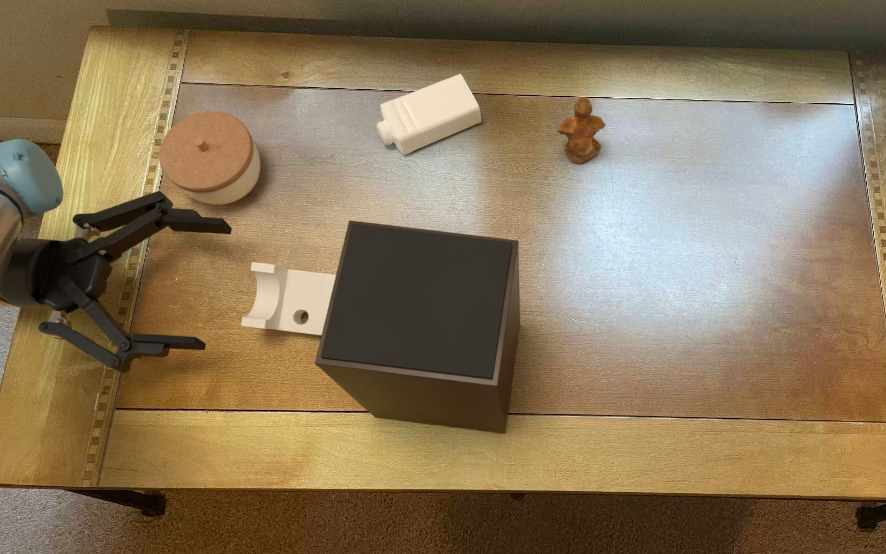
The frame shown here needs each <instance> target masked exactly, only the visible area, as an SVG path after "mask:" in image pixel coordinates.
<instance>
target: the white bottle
mask: <svg viewBox="0 0 886 554" xmlns="http://www.w3.org/2000/svg"><path fill="white" fill-rule="evenodd" d="M380 111H381V115H382V119H383V120H382V121H378V122H377V123H376V130H377V132H378V135H379V136H380V139H381V140H382V143H383V144H384V145H386V146H389V145H392V144H394V145H395V147H396V148H397V150H398V151H399V152H400V153H401V155H408V154H411V153H413V151H417V150H418V149H422V148H423V147H426V146H428V145H430V144H432V143H435V142H437V141H439V140H442V139H444V138H448V137H450V136H452V135H454V134H457V133H459V132H461V131H464V130H466V129H468V128H471V127H473V126H476V125H479V124H481V123H482V114H481V108H480V105H479V103H478V102H477V100H476V98H475V96H474V94H473V93H472V91H471V90H470V88H469V85H468V84H467V82H466V80H465V78H464V77H463V75H462V73H458V74H456V75H454V76H451V77H449V78H445V79H443V80H440V81H437V82H435V83H432V84H429V85H427V86H425V87H422V88H420V89H418V90H417V89H416V90H415V91H413V92H412V91H411V92H410V93H407V94H404V95H401V96H399V97H396V98H394V99H391V100H388V101H385V102H382V103H381V104H380Z"/></svg>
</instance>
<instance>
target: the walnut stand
mask: <svg viewBox="0 0 886 554" xmlns="http://www.w3.org/2000/svg"><path fill="white" fill-rule="evenodd" d="M352 224H360V225H369V226H377V227H385V228H394V229H402V230H411V231H419V232H427V233H436V234H444V235H452V236H461V237H469V238H478V239H486V240H494V241H503V242H511V243H512V249H511V256H510V263H509V270H508V276H507V283H506V290H505V297H504V303H503V310H502V317H501V324H500V331H499V337H498V344H497V351H496V358H495V364H494V371H493V378H492V379H485V378H477V377H469V376H461V375H453V374H445V373H437V372H428V371H420V370H412V369H404V368H396V367H388V366H380V365H372V364H364V363H356V362H348V361H340V360H332V359H324V358H321V352H322V348H323V344H324V340H325V336H326V331H327V327H328V323H329V319H330V315H331V311H332V306H333V302H334V298H335V294H336V290H337V285H338V281H339V277H340V273H341V269H342V264H343V260H344V256H345V252H346V248H347V243H348V239H349V235H350V231H351V227H352ZM519 245H520V244H519V240H517V239H509V238H502V237H492V236H484V235H477V234H469V233H468V234H467V233H460V232H459V233H458V232H451V231H443V230H435V229H426V228H417V227H411V226H410V227H409V226H400V225H392V224H383V223H376V222H375V223H374V222H369V221H368V222H367V221H359V220H358V221H357V220H351V219H349V220H348V223H347V227H346V232H345V236H344V240H343V245H342V248H341V252H340V257H339V261H338V265H337V269H336V273H335V275H336V277H335V281H334V286H333V290H332V294H331V298H330V302H329V306H328V310H327V315H326V319H325V323H324V327H323V331H322V335H320V340H319V344H318V348H317V352H316V357H315V360H314V365H315V366H317V367H318V368H319V369H320V370H321V371H323V372H324V373H325V374H326V375H327V376H328V377H329V378H330V379H331V380H332V381H334V382H335V383H336V384H337V385H338V386H339V387H340V388H341V389H342V390H343V391H345V392H346V393H347V394H348V395H349V396H350V397H352V398H353V399H354V400H355V401H356V402H357V403H358V404H359V405H360V406H362V408H364V409H365V411H367V412H368V413H369V414H370V415H372V416H373V418H376V419H383V420H392V421H399V422H405V423H406V422H407V423H415V424H422V425H423V424H424V425H431V426H439V427H447V428H455V429H463V430H471V431H477V432H478V431H479V432H486V433H495V434H503V435H505V434H506V433H507V425H508V418H509V410H510V404H511V402H510V401H511V395H512V388H513V382H514V381H513V380H514V374H515V367H516V359H517V352H518V345H519V344H518V343H519V336H520V330H521V329H520V328H521V300H520V299H521V298H520V297H521V295H520V294H521V292H520V248H519V247H520V246H519Z"/></svg>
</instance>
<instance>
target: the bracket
mask: <svg viewBox="0 0 886 554" xmlns="http://www.w3.org/2000/svg"><path fill="white" fill-rule="evenodd" d="M250 271H251V272H252V273H253V274H254V276H255V280H256V294H255V299H254V302H253V305H252V308H251V310H250V311H249V313H248V314H247V315H246V316H242V319H241V327H248V328H257V329H265V330H276V331H285V332H291V333H300V334H307V335H315V336H321V335H322V331H323V327H324V323H325V319H326V315H327V310H328V306H329V302H330V298H331V294H332V290H333V286H334V281H335V277H336V274H333V273H332V274H331V273H323V272H317V271H315V272H314V271H306V270H299V269H290V268H286V267H283V266H280V265H277V264H273V263H264V262H255V261H251V265H250ZM304 313H306V314H307V315H308V319H307V321H306V322H305V323H303V321H302V316H303V315H304Z"/></svg>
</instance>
